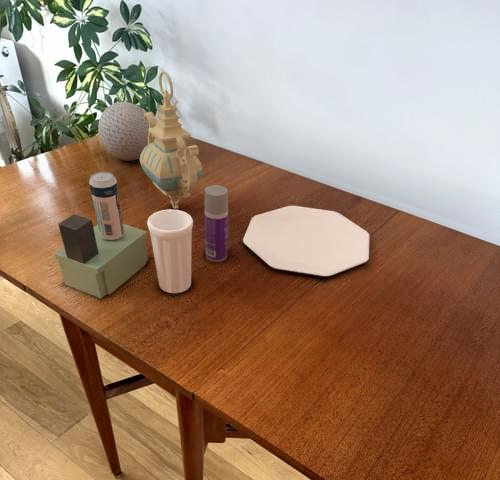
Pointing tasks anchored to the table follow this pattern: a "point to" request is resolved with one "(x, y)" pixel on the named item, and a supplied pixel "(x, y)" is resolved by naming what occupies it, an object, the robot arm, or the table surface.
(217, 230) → the container
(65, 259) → the sage green lidded box
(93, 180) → the white lidded canister
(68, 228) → the block
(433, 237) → the table surface
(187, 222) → the cup
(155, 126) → the ornate tan lantern
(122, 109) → the decorative ball
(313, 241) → the plate
